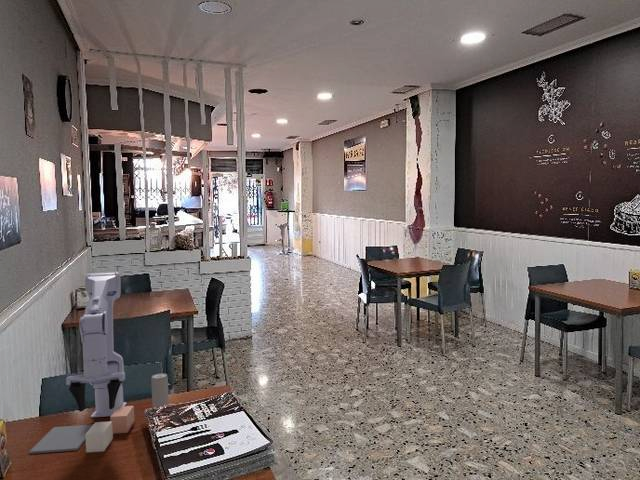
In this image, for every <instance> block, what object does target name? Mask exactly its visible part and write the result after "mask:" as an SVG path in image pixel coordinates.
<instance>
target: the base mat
mask: <svg viewBox="0 0 640 480" xmlns="http://www.w3.org/2000/svg"><path fill="white" fill-rule="evenodd" d="M92 426H93V424H83V425H82V424H80V425H79V424H78V425H66V426H64V425H63V426H54V427H52V428H51V429H50V430H49V431H48V432H47V433H46V434H45V435H44V436H43V438H41V439H40V440H39V441H38V442H37V444H35V445H34V446H33V447H32V448H31V449H30V450H29V452H28V453H29V454H31V455H32V454H46V453H57V452H58V453H59V452H61V453H62V452H72V451H78V450H79V449H80V448H81V446H83V444H85V443H86V439H85V434H86V433H87V432H88V431H89V429H90V428H91V427H92Z"/></svg>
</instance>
